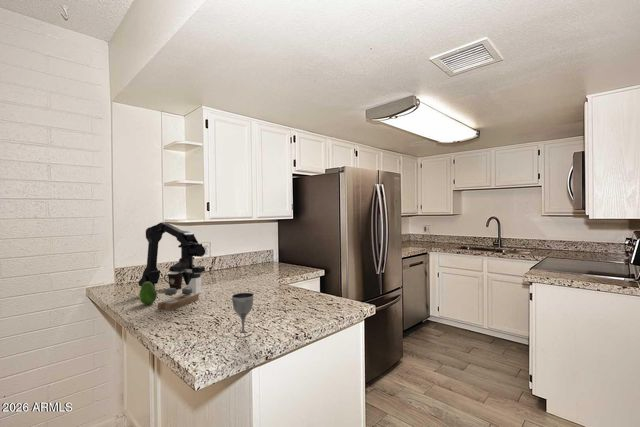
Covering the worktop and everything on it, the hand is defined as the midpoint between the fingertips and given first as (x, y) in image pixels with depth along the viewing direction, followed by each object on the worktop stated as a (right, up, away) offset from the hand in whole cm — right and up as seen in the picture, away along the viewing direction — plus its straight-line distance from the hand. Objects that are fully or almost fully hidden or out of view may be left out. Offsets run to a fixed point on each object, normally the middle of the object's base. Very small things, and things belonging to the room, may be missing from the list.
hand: (187, 284), depth 165 cm
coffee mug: (-21, -9, +29) cm, 37 cm away
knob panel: (-2, -9, -6) cm, 10 cm away
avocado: (-18, -9, -6) cm, 21 cm away
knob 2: (0, -6, 0) cm, 6 cm away
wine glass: (+42, -8, -46) cm, 63 cm away
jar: (-4, -9, +17) cm, 19 cm away
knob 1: (-3, -3, -11) cm, 12 cm away
